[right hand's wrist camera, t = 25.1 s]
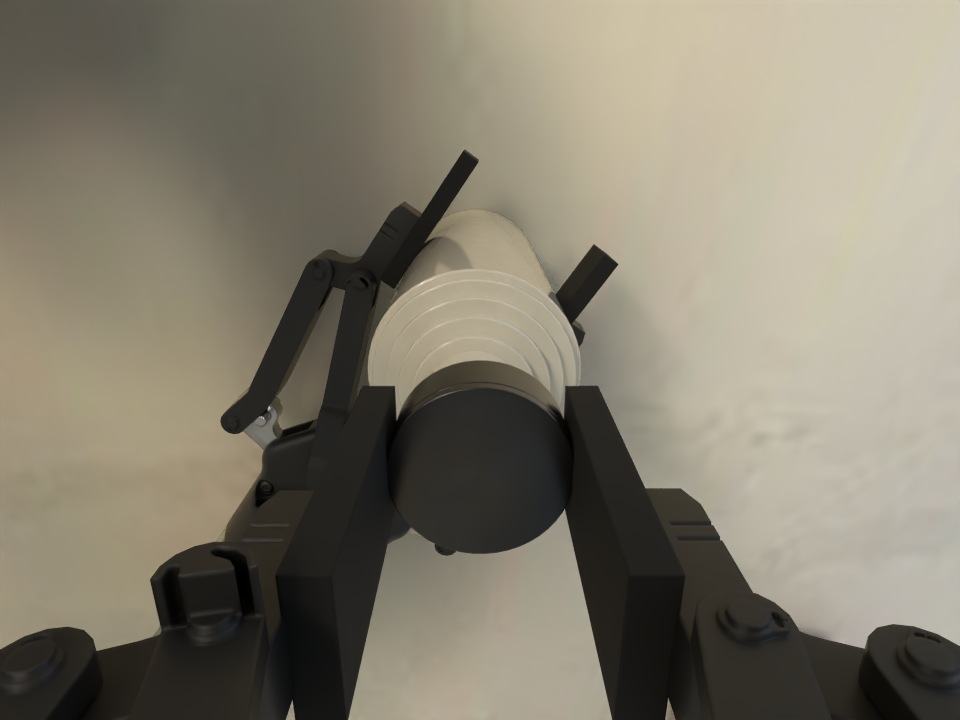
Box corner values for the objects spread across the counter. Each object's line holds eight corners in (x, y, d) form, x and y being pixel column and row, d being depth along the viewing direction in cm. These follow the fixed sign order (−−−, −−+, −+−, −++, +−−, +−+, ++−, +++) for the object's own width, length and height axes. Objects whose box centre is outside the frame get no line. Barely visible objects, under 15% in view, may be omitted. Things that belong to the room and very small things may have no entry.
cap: (552, 345, 14) (562, 372, 12) (575, 497, 15) (586, 540, 14) (377, 375, 14) (364, 405, 13) (415, 522, 15) (408, 566, 14)
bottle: (556, 243, 34) (661, 381, 15) (501, 346, 36) (530, 587, 17) (446, 187, 33) (404, 258, 14) (396, 297, 35) (297, 493, 16)
